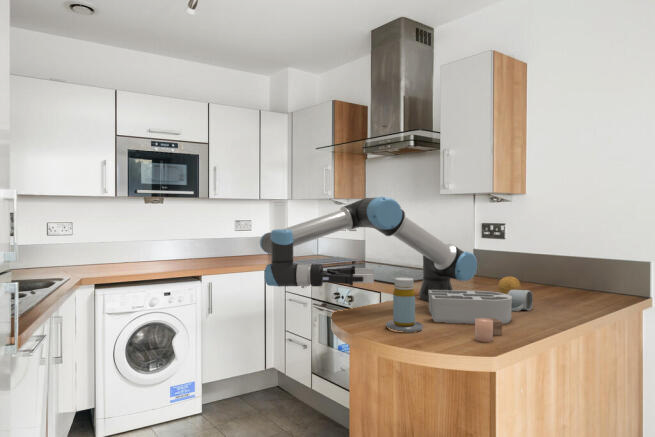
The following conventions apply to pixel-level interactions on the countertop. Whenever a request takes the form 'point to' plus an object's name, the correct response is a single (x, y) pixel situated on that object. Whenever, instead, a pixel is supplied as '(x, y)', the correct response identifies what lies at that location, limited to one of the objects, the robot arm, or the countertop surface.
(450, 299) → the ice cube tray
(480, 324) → the pink rounded block
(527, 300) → the ceramic mug
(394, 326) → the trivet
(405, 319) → the bottle
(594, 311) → the countertop surface
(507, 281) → the potato
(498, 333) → the walnut block
